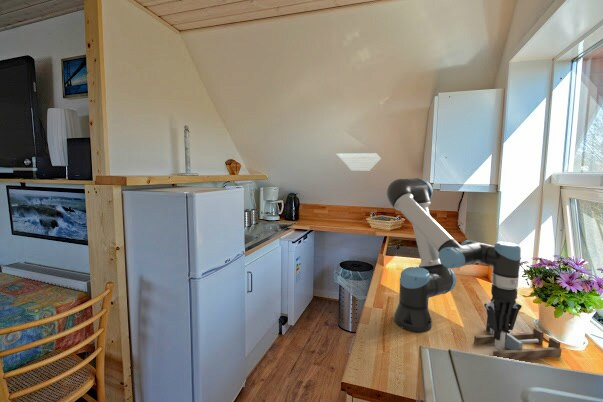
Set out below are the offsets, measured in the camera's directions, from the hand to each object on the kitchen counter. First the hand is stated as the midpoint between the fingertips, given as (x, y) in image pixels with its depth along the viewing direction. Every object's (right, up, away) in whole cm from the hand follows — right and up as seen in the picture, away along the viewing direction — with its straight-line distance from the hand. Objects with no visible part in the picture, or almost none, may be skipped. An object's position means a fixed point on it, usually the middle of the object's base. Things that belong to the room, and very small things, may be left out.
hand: (499, 347), depth 102 cm
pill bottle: (+7, 0, +12) cm, 14 cm away
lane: (+7, -1, +1) cm, 7 cm away
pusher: (+10, -1, +1) cm, 10 cm away
